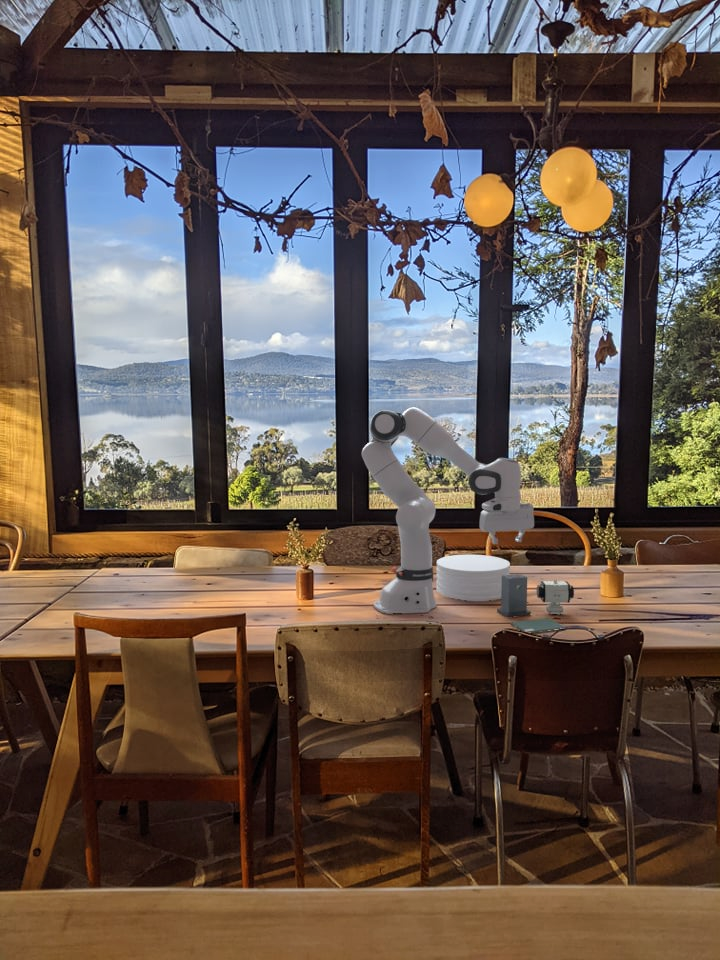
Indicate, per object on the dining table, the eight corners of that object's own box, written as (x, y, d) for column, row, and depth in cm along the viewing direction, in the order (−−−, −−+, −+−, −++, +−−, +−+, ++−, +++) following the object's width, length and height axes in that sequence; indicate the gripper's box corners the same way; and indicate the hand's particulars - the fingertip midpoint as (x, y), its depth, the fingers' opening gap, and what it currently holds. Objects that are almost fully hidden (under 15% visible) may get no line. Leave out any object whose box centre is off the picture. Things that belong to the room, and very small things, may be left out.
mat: (526, 634, 213) (526, 631, 213) (510, 624, 223) (510, 621, 223) (565, 629, 217) (565, 626, 217) (547, 620, 227) (547, 617, 227)
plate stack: (425, 596, 258) (425, 566, 257) (451, 579, 282) (451, 552, 281) (497, 605, 245) (498, 574, 244) (518, 586, 269) (518, 558, 268)
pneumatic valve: (536, 611, 236) (536, 577, 235) (570, 612, 236) (571, 578, 234) (539, 616, 231) (539, 582, 230) (574, 616, 230) (575, 582, 229)
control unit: (507, 618, 230) (507, 579, 228) (497, 612, 236) (497, 574, 235) (530, 615, 232) (531, 577, 231) (520, 609, 239) (520, 572, 237)
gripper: (528, 501, 245) (527, 539, 247) (477, 504, 239) (477, 542, 241) (538, 503, 239) (537, 542, 241) (486, 506, 233) (485, 546, 235)
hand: (506, 542), depth 241 cm, fingers open, 8 cm apart
